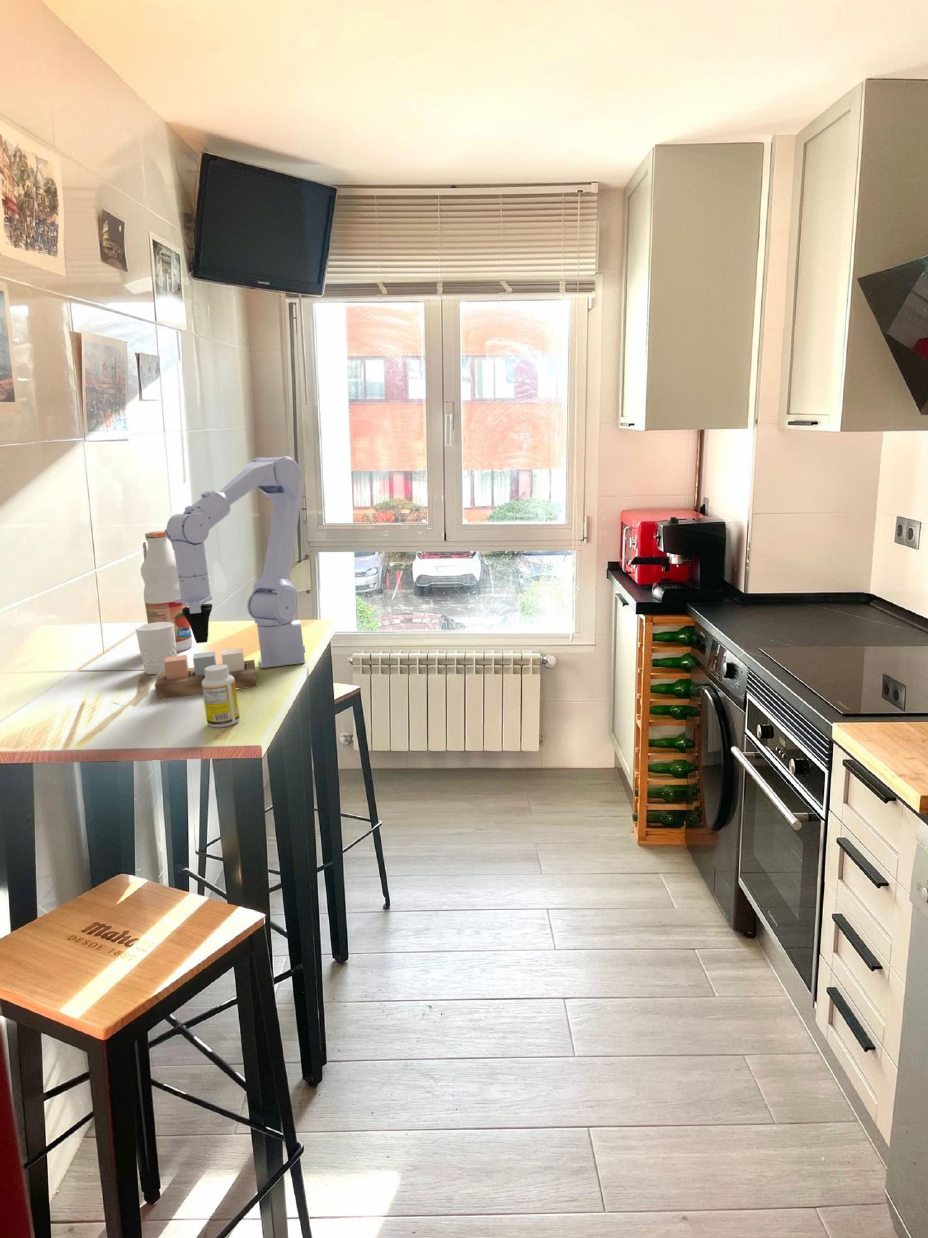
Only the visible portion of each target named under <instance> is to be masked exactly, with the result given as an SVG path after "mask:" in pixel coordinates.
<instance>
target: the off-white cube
mask: <svg viewBox="0 0 928 1238" xmlns="http://www.w3.org/2000/svg"><path fill="white" fill-rule="evenodd" d="M221 660H222V664H224V665H227V666H228V670H229V672H232V671H240V670H245V666H244V661H245V659H244V651H243V648H242V647H241V648H231V649H223V650H221Z"/></svg>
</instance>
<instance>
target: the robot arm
mask: <svg viewBox="0 0 928 1238" xmlns="http://www.w3.org/2000/svg"><path fill="white" fill-rule="evenodd" d="M302 476H303V470H302V469H301V468H300V466H299V464H298V463H297V461H296V460H295V459H294V458H293V457H291V456H288V455H287V456H286V455H285V456H281V457H279V456H277V457H256V458H254V459H253V460H251V462H248V463H247V464H245V466H244V468H243V470H242V471H240V472H239V473H238V474H237V475H235V477H234V478H233V479H232V480H231V481H229V482H228V483H227V484H226V485H225V486H223V487H222V488H221V490H219V491H216V490H211V491H204V492H202V493H201V494H200V496H201V497H200V498H199V499H198V500H197V501H196V502H194V503H193V504H192V505H187V506H186V507H185V508H184V511H183V512H182V513H176V514H174V515H171V517H170V518H169V519H168V522H167V524H166V528H165V529H164V530H163V531H165V534H166V537H167V539H168V540H169V542H171V547H172V550H173V551H174V557H175V560H176V567H177V574H178V581H179V588H180V595H181V598H176V599H175V603H182V604H184V605H187V607H186V608H184V609H183V610H182V613H183V615H184V616H185V617H186V619H187V620H188V622H189V624H190V629H191V633H192V635H193V637H194V641H195V643H196V644H204V643H208V640H209V626H210V625H209V621H210V615H211V613H212V610H213V604H212V603H208V602H210V601H211V600H213V594H211V585H210V578H209V572H208V565H207V564H208V563H207V557H206V556H207V555H206V548H205V541H206V540H207V538H208V537H209V532H210V530H211V529H213V527H215V526H216V525H217V524H218V523H220V522H221V521H222V520H223V519H224V518H226V517H227V516H228V515H230V513H231V505H233V504H234V503H235V502H237V501H238V500H240V499H241V498H243V497H244V496H245V495H247V494H248V493H250V492H251V491H252V490H254V489H255V488H257V489H259V490H260V491H261V492H262V493H263V494H264V495H266V496H267V497H268V498H269V500H271V502H272V504H273V510H272V517H271V522H270V523H271V524H270V530H269V536H268V541H267V542H268V543H267V548H266V555H265V560H264V566H263V573H262V576H261V577H260V578H259V579H257V581H256V582H255V583H253V588H252V592H251V594H250V596H249V597H248V599H247V605H246V607H247V611H248V614H249V615H250V617H251V618H253V619H254V624H256V626H257V634H258V643H259V651H260V658H258V659H259V668H260V669H268V668H275V667H282V666H291V665H299V664H305V663H306V659H305V654H306V647H305V644H304V639H303V631H302V625H301V624H302V623H301V620H300V619H297V620H295V619H294V618H295V616H296V614H297V611H298V603H297V598H296V597H297V589H296V587H295V586H294V585H293V584H292V583H291V581H290V580H289V579H290V573H291V568H292V560H293V555H294V548H295V541H296V536H297V530H298V523H299V517H300V510H301V506H302V505H301V504H302V496H301V483H302Z"/></svg>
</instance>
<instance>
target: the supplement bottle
mask: <svg viewBox="0 0 928 1238" xmlns="http://www.w3.org/2000/svg"><path fill="white" fill-rule="evenodd" d="M204 670H205V677H206V678H205V679H203V681H202V690H203V694H202V695H203V702H204V710H205V716H206V722H207V725H208V726H209V727H211V728H225V727H230V726H233V725H236V724H237V723H238V722H239V721H240V711H239V704H238V696H237V689H236V688H235V680H234V677H233V676H232V675H229V670H228V666H227V665H224V664H223V663H219V664H218V665H217V664H216V665H211V666H208V667H206V668H205V669H204Z"/></svg>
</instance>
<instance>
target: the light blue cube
mask: <svg viewBox="0 0 928 1238" xmlns="http://www.w3.org/2000/svg"><path fill="white" fill-rule="evenodd" d="M192 661H193V667H194V669H195V676H201V675H205V670H204V669H205V668H206V667H208V666H211V665H217V661H216V653H215V651H205V652H199V653H193V658H192Z"/></svg>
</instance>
